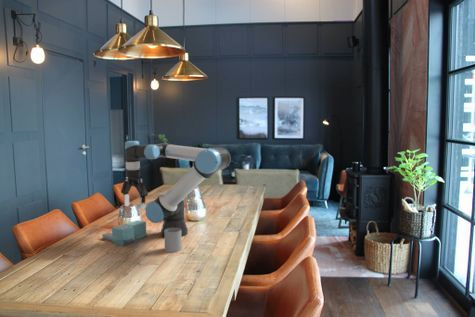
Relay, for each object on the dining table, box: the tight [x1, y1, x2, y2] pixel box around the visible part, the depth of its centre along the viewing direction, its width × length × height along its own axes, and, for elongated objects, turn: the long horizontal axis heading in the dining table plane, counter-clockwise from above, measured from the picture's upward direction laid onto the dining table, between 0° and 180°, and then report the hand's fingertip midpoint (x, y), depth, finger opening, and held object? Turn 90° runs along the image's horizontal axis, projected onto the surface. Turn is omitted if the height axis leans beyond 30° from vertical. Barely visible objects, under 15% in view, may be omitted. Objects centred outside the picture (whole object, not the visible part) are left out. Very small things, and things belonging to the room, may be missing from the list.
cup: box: [163, 228, 183, 253], centre depth 200 cm, size 8×8×10 cm
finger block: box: [124, 219, 147, 241], centre depth 222 cm, size 10×7×8 cm
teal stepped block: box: [102, 224, 135, 247], centre depth 215 cm, size 20×7×8 cm, turn 53°
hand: (134, 207), depth 221 cm, fingers open, 13 cm apart
